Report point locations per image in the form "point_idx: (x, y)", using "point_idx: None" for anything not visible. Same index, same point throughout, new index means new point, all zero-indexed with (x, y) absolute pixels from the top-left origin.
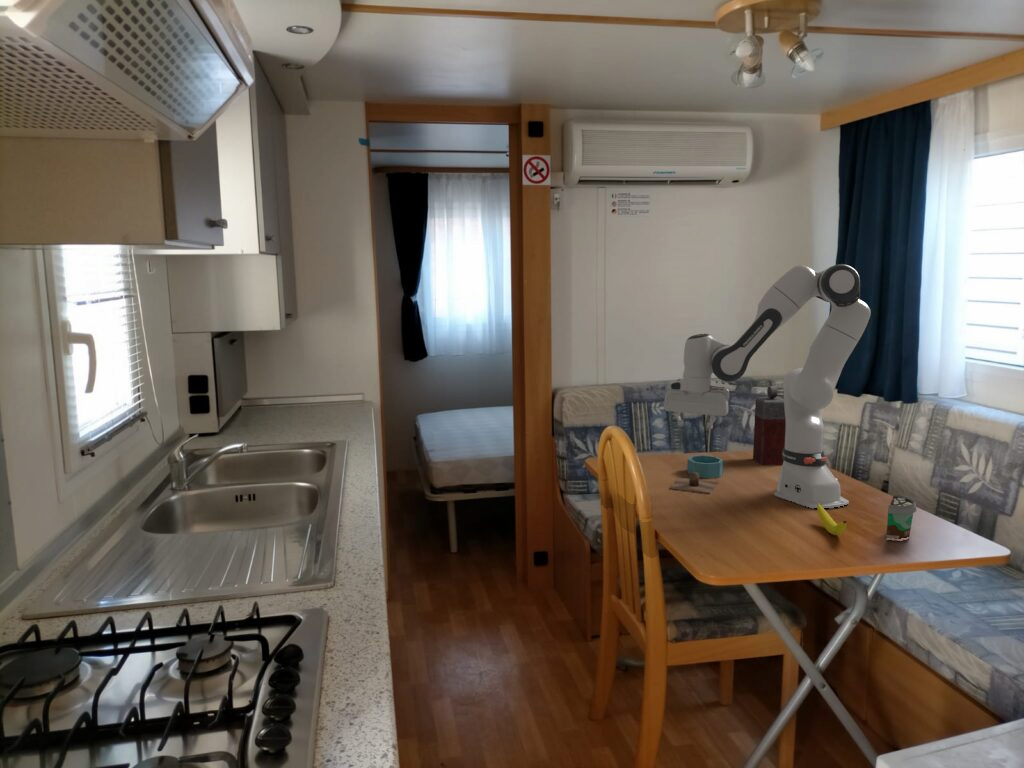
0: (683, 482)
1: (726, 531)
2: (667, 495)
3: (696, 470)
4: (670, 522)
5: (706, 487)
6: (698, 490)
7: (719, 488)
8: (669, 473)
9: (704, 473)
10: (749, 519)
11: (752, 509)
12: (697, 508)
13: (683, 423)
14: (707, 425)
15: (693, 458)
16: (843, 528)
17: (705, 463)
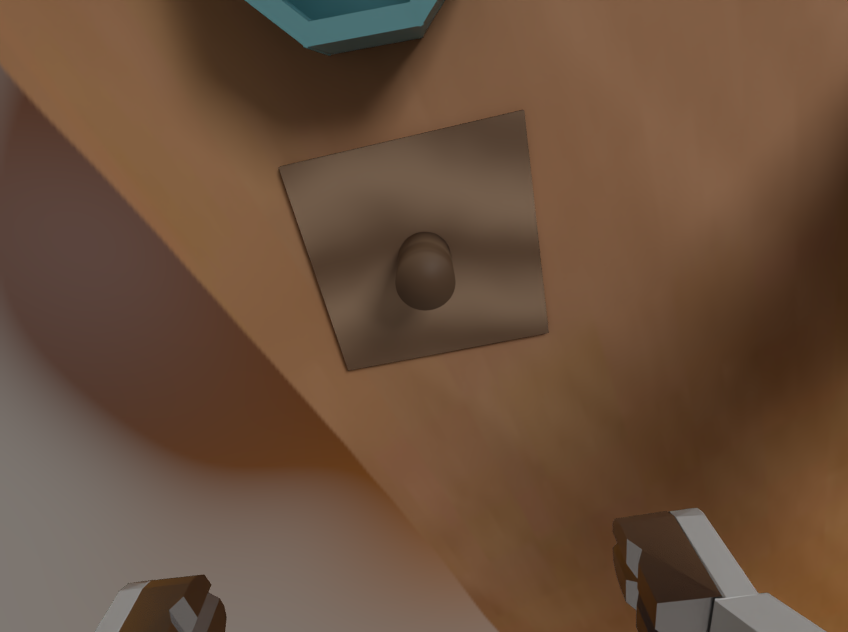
0: (353, 244)
1: None
2: (389, 439)
3: (337, 48)
4: (524, 622)
5: (499, 255)
6: (483, 327)
7: (560, 208)
8: (160, 82)
9: (399, 38)
10: (759, 501)
11: (765, 409)
12: (556, 500)
13: (187, 596)
14: (643, 622)
15: None
16: None
17: (396, 17)
